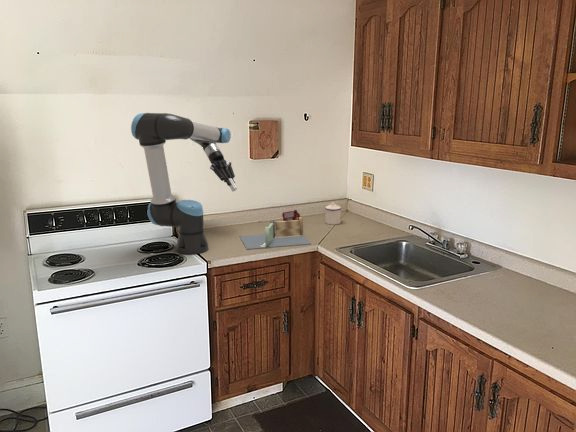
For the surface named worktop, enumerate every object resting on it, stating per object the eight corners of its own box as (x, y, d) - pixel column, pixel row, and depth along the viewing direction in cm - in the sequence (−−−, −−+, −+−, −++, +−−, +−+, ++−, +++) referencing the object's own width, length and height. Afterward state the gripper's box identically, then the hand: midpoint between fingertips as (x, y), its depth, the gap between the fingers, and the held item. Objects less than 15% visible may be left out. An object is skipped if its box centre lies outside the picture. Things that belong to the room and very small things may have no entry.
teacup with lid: (344, 223, 285) (344, 203, 282) (331, 225, 280) (331, 205, 277) (331, 218, 295) (331, 199, 292) (318, 221, 290) (318, 201, 287)
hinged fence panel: (270, 237, 256) (270, 220, 254) (274, 237, 256) (273, 220, 253) (264, 245, 242) (264, 227, 240) (269, 245, 242) (268, 227, 240)
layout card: (246, 249, 240) (246, 248, 239) (239, 236, 260) (239, 235, 260) (311, 244, 247) (311, 243, 247) (299, 232, 268) (299, 231, 268)
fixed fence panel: (271, 239, 256) (270, 220, 254) (270, 237, 258) (269, 218, 256) (303, 236, 260) (303, 217, 258) (302, 235, 262) (302, 216, 260)
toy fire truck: (305, 228, 275) (305, 210, 272) (287, 232, 268) (287, 213, 265) (297, 226, 280) (297, 207, 278) (279, 229, 273) (279, 211, 270)
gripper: (221, 157, 274) (241, 192, 266) (201, 160, 265) (221, 195, 257) (227, 148, 269) (248, 183, 261) (206, 151, 260) (227, 187, 252)
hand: (234, 189), depth 259 cm, fingers closed
